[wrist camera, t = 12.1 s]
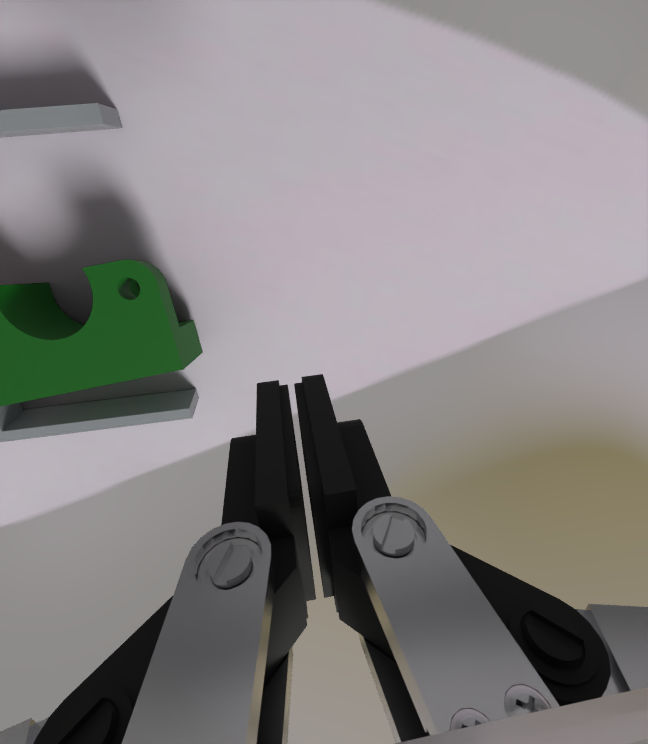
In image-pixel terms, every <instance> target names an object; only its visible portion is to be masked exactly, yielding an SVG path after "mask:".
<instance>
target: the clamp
mask: <svg viewBox="0 0 648 744" xmlns="http://www.w3.org/2000/svg"><path fill="white" fill-rule="evenodd" d="M82 269H83V271H84V272H85V274H86V276H87V277H88V280H89V282H90V285H91V288H92V293H93V307H92V311H91V314H90V317H89V319H88V321H87V322H86V324H85V325H83V324H80V323H78V322H76V321H74V320H72V319H71V318H70V317H68V316H67V315H66V314H65V313H64V312H63V311H62V310H61V309H60V308H59V306H58V305H57V303H56V301H55V299H54V297H53V294H52V291H51V288H50V284H49V283H33V284H14V285H0V406H5V405H10V404H15V403H20V402H25V401H30V400H35V399H40V398H44V397H49V396H54V395H59V394H64V393H69V392H74V391H79V390H84V389H89V388H94V387H99V386H104V385H109V384H114V383H119V382H124V381H128V380H133V379H138V378H143V377H148V376H153V375H158V374H163V373H168V372H173V371H178V370H183V369H184V368H185V367H187V366H188V365H189V364H190V363H191V362H192V361H193V360H195V359H196V358H197V357H198V356H199V355H200V354H201V353H202V352H203V351H202V348H201V344H200V341H199V337H198V334H197V330H196V327H195V323H194V320H189V321H183V322H178V320H177V317H176V313H175V310H174V307H173V303H172V300H171V296H170V293H169V290H168V286H167V283H166V280H165V278H164V276H163V274H162V273H161V272H160V270H159V269H158V268H156V267H155V266H154V265H152V264H150V263H148V262H145V261H140V260H120V261H115V262H110V263H104V264H99V265H94V266H89V267H84V268H82ZM137 283H138V284H139V286H140V291H139V288H138V284H137Z"/></svg>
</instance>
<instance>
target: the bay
mask: <svg viewBox="0 0 648 744" xmlns="http://www.w3.org/2000/svg"><path fill="white" fill-rule="evenodd" d="M115 128H122V125H121V121H120V117H119V114H118V110H117V109H115V108H112V107H109V106H105V105H102V104H99V103H89V104H76V105H62V106H48V107H35V108H21V109H7V110H0V137H11V136H24V135H37V134H50V133H63V132H76V131H89V130H102V129H115ZM198 399H199V397H198V394H197V390H196V389H190V390H182V391H174V392H166V393H157V394H149V395H141V396H133V397H124V398H116V399H108V400H99V401H91V402H83V403H75V404H66V405H58V406H50V407H42V408H33V409H25V410H24V409H23V407H22V405H21V403H15V404H10V405H5V406H0V442H5V441H13V440H21V439H29V438H37V437H45V436H53V435H61V434H69V433H77V432H85V431H93V430H101V429H109V428H117V427H125V426H133V425H141V424H149V423H157V422H164V421H172V420H180V419H188V418H193V415H194V411H195V408H196V405H197V402H198Z"/></svg>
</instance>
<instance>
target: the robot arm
mask: <svg viewBox="0 0 648 744" xmlns="http://www.w3.org/2000/svg"><path fill="white" fill-rule="evenodd" d="M294 386H295V393H296V401H297V409H298V416H299V424H300V431H301V439H302V447H303V454H304V462H305V468H306V476H307V483H308V490H309V497H310V503H311V511H312V517H313V524H314V531H315V538H316V545H317V551H318V558H319V565H320V572H321V579H322V585H323V592H324V598H325V597H331V596H334V599H335V605H336V610H337V612H339V618H340V620H342V621H343V622H344V623H346V624H347V625H348V626H350V627H351V628H353V629H354V630H355V631H357V632H358V634H359V639H360V642H361V646H362V649H363V651H364V654H365V657H366V660H367V663H368V666H369V668H370V671H371V674H372V677H373V679H374V683H375V685H376V688H377V691H378V694H379V697H380V699H381V702H382V705H383V708H384V711H385V714H386V717H387V719H388V722H389V725H390V728H391V731H392V733H393V737H394V739H395V742H396V744H648V607H636V606H619V605H600V604H588V605H587V608H586V610H581V609H574V608H572V607H571V606H569V605H568V604H566V603H564V602H563V601H561V600H560V599H558V598H556V597H554V596H552V595H550V594H548V593H546V592H544V591H542V590H540V589H538V588H536V587H534V586H532V585H530V584H528V583H526V582H523V581H522V580H519V579H518V578H516V577H514V576H512V575H510V574H507V573H506V572H503V571H502V570H500V569H498V568H496V567H494V566H492V565H490V564H488V563H485V562H484V561H482V560H480V559H478V558H475V557H474V556H472V555H470V554H468V553H466V552H463V551H462V550H460V549H458V548H456V547H454V546H452V545H450V544H449V543H448V541H447V540H446V538H445V537H444V535H443V534H442V533H441V531H440V530H439V528H438V527H437V525H436V524H435V523H434V521H433V519H432V518H431V517H430V515H429V514H428V513H427V512H426V511H425V510H424V509H423V508H422V507H420V506H419V505H417V504H416V503H414V502H413V501H410V500H407V499H404V498H401V497H391V494H390V492H389V489H388V487H387V484H386V481H385V479H384V476H383V474H382V471H381V469H380V466H379V464H378V461H377V459H376V456H375V453H374V451H373V448H372V446H371V443H370V441H369V438H368V436H367V433H366V430H365V428H364V425H363V423H362V421H361V420H360V419H358V420H352V421H345V422H338V423H337V421H336V417H335V415H334V411H333V407H332V404H331V400H330V397H329V394H328V390H327V387H326V383H325V380H324V377H323V374H321V375H313V376H306V377H302V383H296V384H294ZM315 599H316V595H315V588H314V579H313V571H312V564H311V557H310V548H309V540H308V532H307V524H306V516H305V509H304V501H303V493H302V485H301V477H300V469H299V462H298V456H297V448H296V441H295V435H294V427H293V420H292V413H291V406H290V398H289V391H288V385H281V386H279V380H277V381H269V382H262V383H257V411H256V435H251V436H244V437H237V438H232V439H231V443H230V451H229V460H228V469H227V479H226V489H225V498H224V506H223V516H222V525H221V526H219V527H216V528H214V529H212V530H211V531H209V532H208V533H206V534H205V535H204V536H203V537H201V538H200V539H199V540H198V541H197V543H196V544H195V545H194V546H193V547H192V549H191V551H190V552H189V554H188V557H187V558H186V561H185V563H184V566H183V569H182V572H181V575H180V578H179V581H178V584H177V586H176V589H175V592H174V595H173V596H172V597H171V598H170V599H169V600H168V601H167V602H166V603H165V604H164V605H163V606H162V607H161V608H160V609H159V610H158V611H156V612H155V613H154V614H153V615H152V616H151V617H150V618H149V619H148V620H147V621H146V622H145V623H144V624H143V625H142V626H141V627H140V628H139V629H138V630H137V631H136V632H135V633H133V634H132V636H130V637H129V638H128V639H127V640H126V641H125V642H124V643H123V644H122V645H121V646H120V647H119V648H118V649H117V650H116V651H115V652H114V653H113V654H112V655H111V656H109V657H108V658H107V659H106V660H105V661H104V662H103V663H102V664H101V665H100V666H99V667H98V668H97V669H96V670H95V671H94V672H93V673H92V674H91V675H90V676H89V677H88V678H87V679H85V680H84V681H83V682H82V683H81V684H80V685H79V687H77V688H76V689H75V690H74V691H73V692H72V693H71V694H70V695H69V696H68V697H67V698H66V699H65V700H64V701H63V702H62V703H61V704H60V705H59V707H58V708H57V709H56V710H55V711H54V712H53V713H52V714H51V716H50V717H48V718H46V719H44V720H42V721H40V722H37V723H36V722H35V721H34V720H33V719H32V718H30V719H28V720H26V721H23V722H21V723H19V724H16V725H14V726H12V727H10V728H8V729H5V730H3V731H1V732H0V744H287V743H288V727H289V713H290V697H291V682H292V666H293V644H294V643H295V642H296V640H297V639H298V637H299V636H300V635H301V633H302V632H303V630H304V629H305V628H306V626H307V621H306V618H308V614H307V604H306V601H309V600H315Z"/></svg>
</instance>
